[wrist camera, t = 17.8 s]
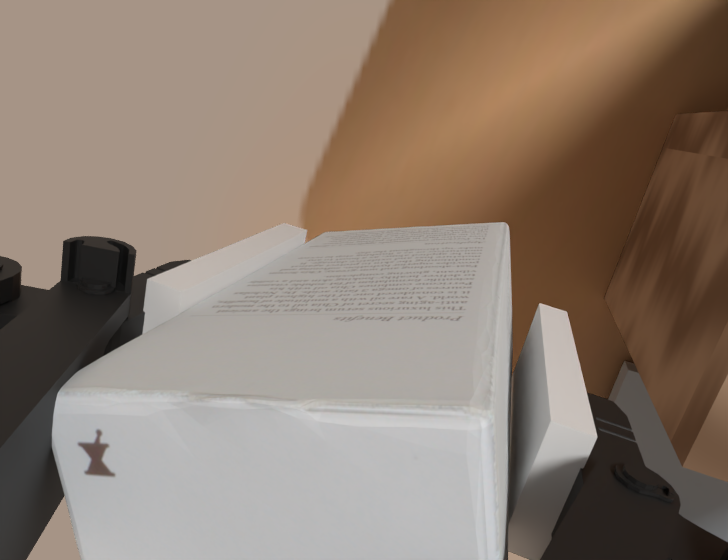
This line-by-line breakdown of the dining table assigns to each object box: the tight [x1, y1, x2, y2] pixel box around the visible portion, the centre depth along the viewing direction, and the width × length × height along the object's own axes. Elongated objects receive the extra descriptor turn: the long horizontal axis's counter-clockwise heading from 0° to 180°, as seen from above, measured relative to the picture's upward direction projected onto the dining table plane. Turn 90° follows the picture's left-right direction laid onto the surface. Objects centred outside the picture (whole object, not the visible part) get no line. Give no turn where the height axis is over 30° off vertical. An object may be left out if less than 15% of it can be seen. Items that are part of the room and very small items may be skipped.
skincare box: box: [52, 222, 513, 560], centre depth 13 cm, size 6×4×12 cm
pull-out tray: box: [608, 361, 728, 542], centre depth 35 cm, size 14×15×6 cm
